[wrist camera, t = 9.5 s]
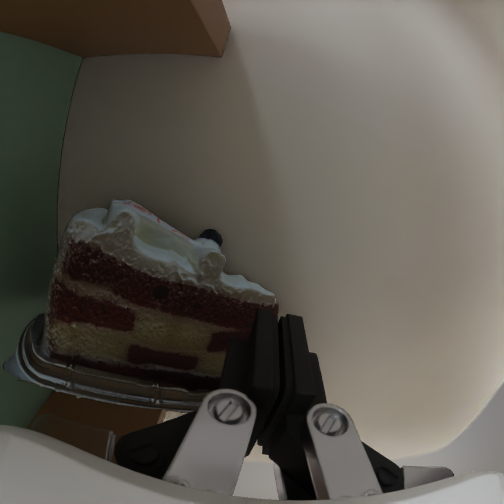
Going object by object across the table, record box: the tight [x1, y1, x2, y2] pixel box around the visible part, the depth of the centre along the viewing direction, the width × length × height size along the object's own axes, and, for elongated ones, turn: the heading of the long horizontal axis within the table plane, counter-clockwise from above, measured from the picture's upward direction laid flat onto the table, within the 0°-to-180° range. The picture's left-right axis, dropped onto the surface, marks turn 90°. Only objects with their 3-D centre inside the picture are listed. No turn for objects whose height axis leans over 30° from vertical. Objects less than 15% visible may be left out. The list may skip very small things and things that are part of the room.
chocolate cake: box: [3, 199, 278, 413], centre depth 11 cm, size 10×7×12 cm
